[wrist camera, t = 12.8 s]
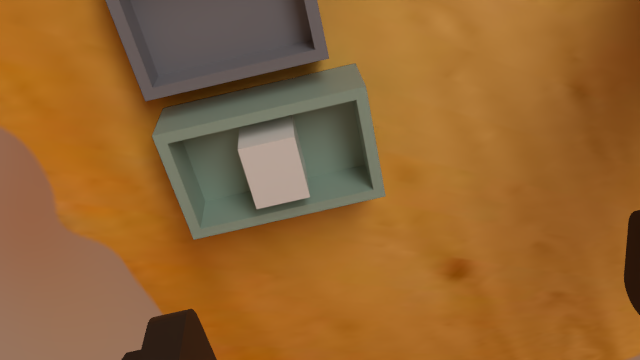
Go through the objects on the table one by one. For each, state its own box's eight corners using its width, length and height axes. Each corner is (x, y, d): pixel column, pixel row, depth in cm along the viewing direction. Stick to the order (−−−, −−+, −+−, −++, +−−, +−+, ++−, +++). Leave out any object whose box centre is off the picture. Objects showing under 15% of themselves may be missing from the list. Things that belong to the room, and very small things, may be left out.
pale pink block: (291, 108, 43) (294, 136, 38) (305, 164, 45) (310, 197, 41) (240, 120, 43) (237, 149, 38) (257, 176, 45) (256, 209, 41)
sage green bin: (355, 63, 42) (365, 86, 38) (374, 165, 47) (385, 196, 43) (163, 108, 43) (151, 136, 39) (200, 205, 47) (193, 239, 43)
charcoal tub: (293, -105, 37) (295, -102, 33) (324, 43, 42) (329, 58, 38) (100, -58, 37) (85, -51, 34) (153, 84, 42) (145, 101, 39)
